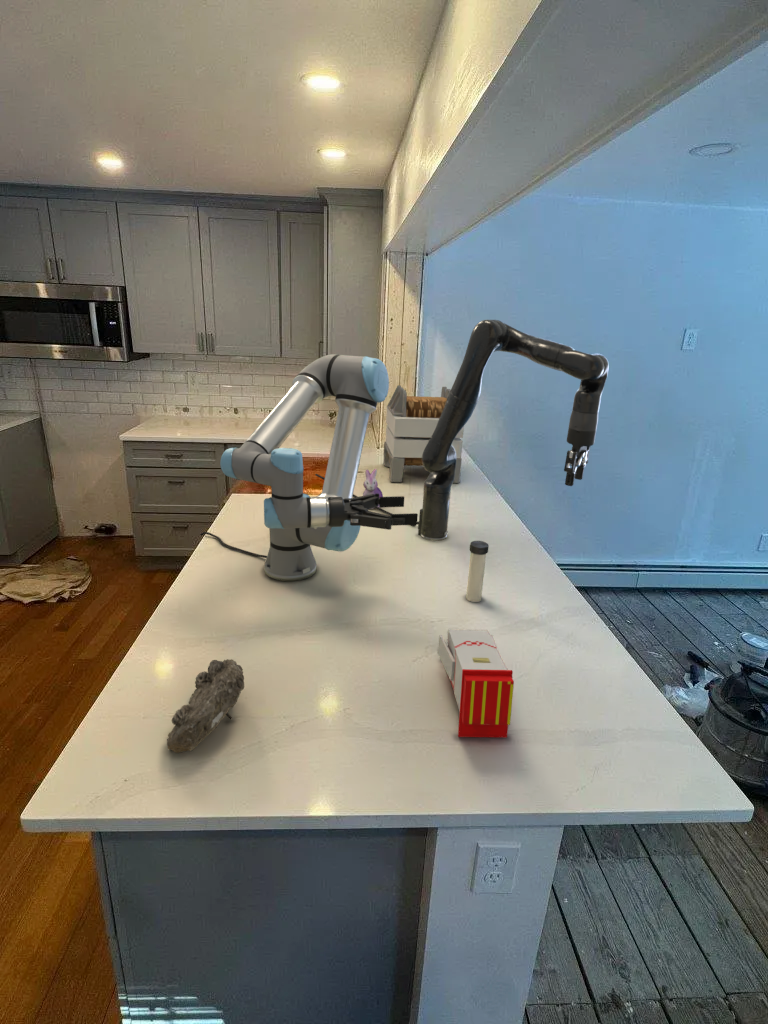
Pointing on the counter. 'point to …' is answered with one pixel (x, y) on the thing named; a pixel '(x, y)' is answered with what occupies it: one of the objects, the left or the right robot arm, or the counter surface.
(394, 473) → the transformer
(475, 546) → the lid
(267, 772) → the counter surface
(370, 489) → the figurine
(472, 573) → the jar
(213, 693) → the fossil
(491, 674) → the toy
